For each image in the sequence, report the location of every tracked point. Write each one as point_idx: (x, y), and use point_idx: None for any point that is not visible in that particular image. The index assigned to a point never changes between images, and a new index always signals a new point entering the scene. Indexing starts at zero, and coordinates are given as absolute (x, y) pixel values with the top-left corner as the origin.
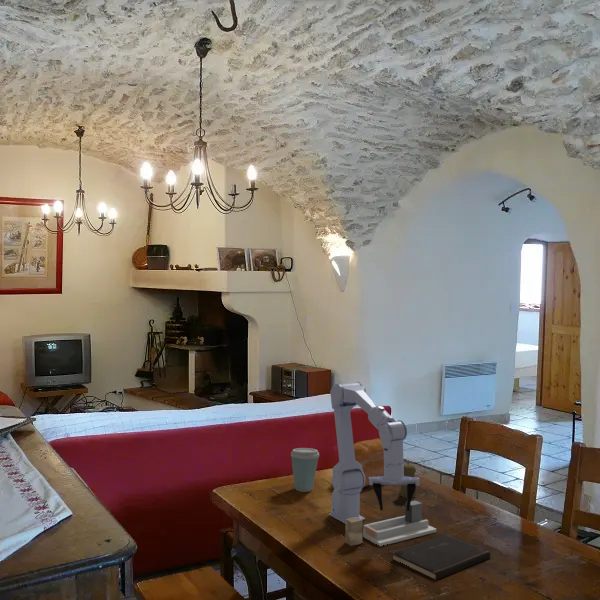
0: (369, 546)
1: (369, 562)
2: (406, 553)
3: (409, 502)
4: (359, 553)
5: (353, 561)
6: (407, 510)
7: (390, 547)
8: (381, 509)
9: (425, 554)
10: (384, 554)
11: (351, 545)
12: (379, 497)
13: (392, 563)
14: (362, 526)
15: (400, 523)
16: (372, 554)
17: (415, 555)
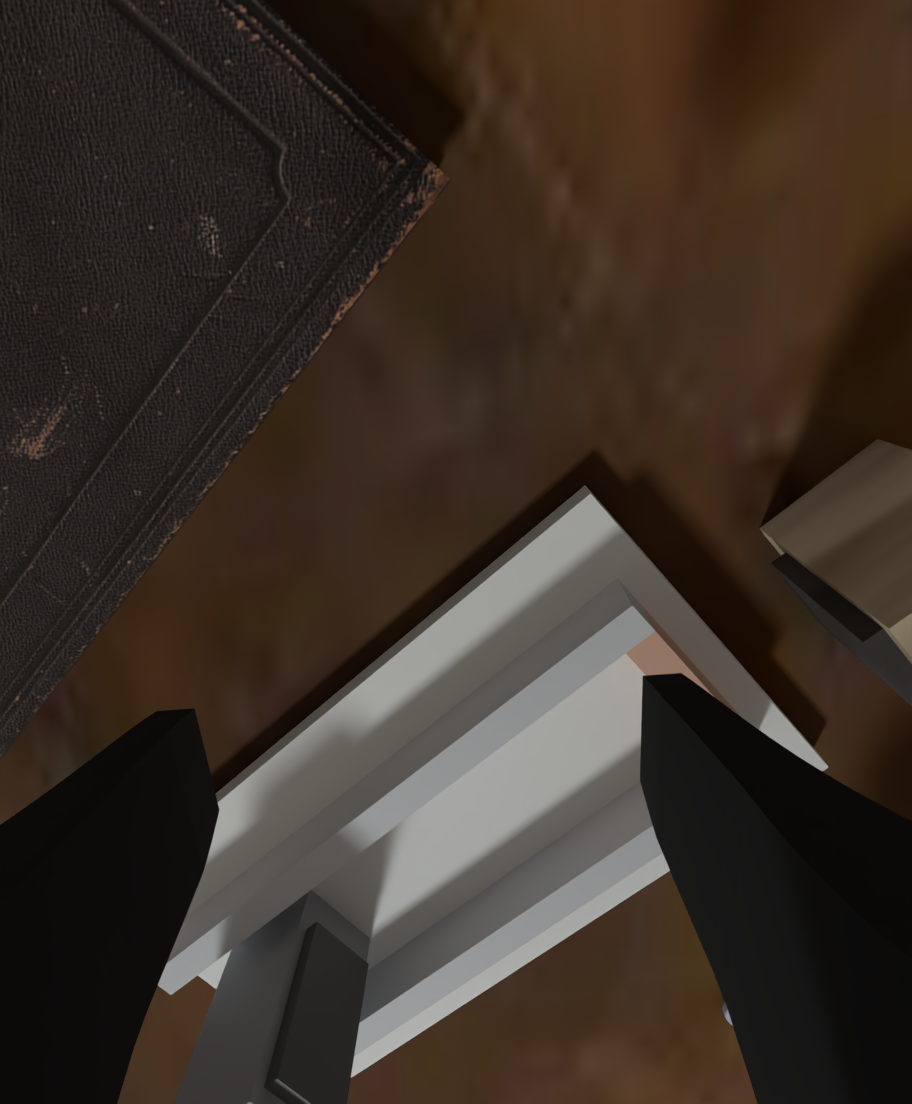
0: (688, 468)
1: (695, 25)
2: (281, 198)
3: (55, 797)
4: (799, 263)
5: (881, 8)
6: (182, 710)
7: (479, 487)
8: (670, 680)
9: (70, 222)
10: (532, 297)
11: (877, 441)
12: (832, 810)
13: (436, 62)
14: (843, 590)
15: (414, 944)
16: (659, 268)
17: (173, 159)
